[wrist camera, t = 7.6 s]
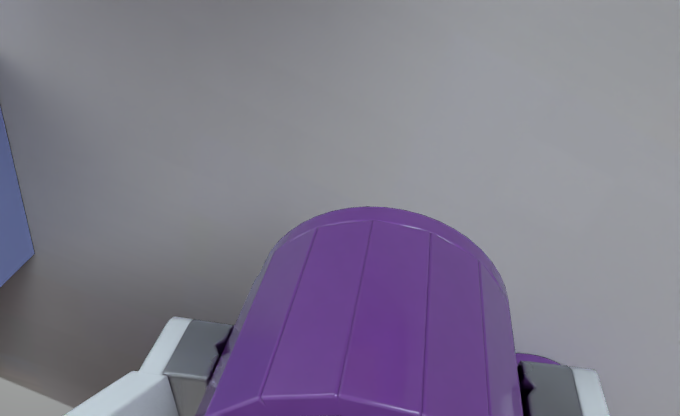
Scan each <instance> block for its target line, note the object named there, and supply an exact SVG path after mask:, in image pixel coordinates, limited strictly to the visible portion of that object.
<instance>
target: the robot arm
mask: <svg viewBox="0 0 680 416" xmlns="http://www.w3.org/2000/svg"><path fill="white" fill-rule="evenodd" d="M234 326H235V325H230V324H223V323H217V322H210V321H204V320H197V319H189V318H182V317H175V316H174V317H172V318H171V319H170V320H169V321H168V322H167V324H166V325H165V327H164V329H163V330H162V332H161V334H160V335H159V337H158V339H157V341H156V342H155V344H154V346H153V347H152V349H151V351H150V352H149V354H148V356H147V357H146V359H145V361H144V363H143V364H142V366H141V368H140V369H139V371H131V372H130V373H128V374H126V375H125V376H123V377H122V378H120V379H119V380H117V381H116V382H114V383H112V384H111V385H109V386H108V387H106V388H105V389H103V390H102V391H100V392H98V393H97V394H95V395H94V396H92V397H91V398H89V399H88V400H86V401H85V402H83V403H81V404H80V405H78V406H77V407H75V408H74V409H72V410H71V411H69V412H68V413H66V414H64V415H63V416H195V414H196V412H197V409H198V407H199V405H200V403H201V400H202V398H203V396H204V394H205V391H206V389H207V387H208V385H209V382H210V380H211V378H212V376H213V373H214V371H215V369H216V366H217V364H218V362H219V360H220V357H221V355H222V353H223V351H224V348H225V346H226V344H227V342H228V339H229V337H230V335H231V333H232V330H233V328H234ZM517 369H518V377H519V384H520V392H521V400H522V407H523V415H524V416H610V414H609V411H608V408H607V404H606V401H605V397H604V394H603V390H602V387H601V383H600V380H599V376H598V373H597V372H596V371H595V370H594V369H587V368H579V367H571V366H569V367H568V366H565V365H556V364H547V363H539V362H530V361H521V360H520V362H519V363H518V366H517Z"/></svg>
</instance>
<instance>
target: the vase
mask: <svg viewBox="0 0 680 416" xmlns="http://www.w3.org/2000/svg"><path fill="white" fill-rule="evenodd" d="M34 254H35V253H34V249H33V244H32V240H31V236H30V232H29V227H28V223H27V219H26V214H25V210H24V206H23V201H22V197H21V193H20V189H19V184H18V180H17V176H16V171H15V167H14V163H13V158H12V154H11V150H10V146H9V141H8V137H7V133H6V128H5V124H4V120H3V116H2V111H1V107H0V287H1V286H2V285H3V284H4V283H5V282H6V281H7V280H8V279H9V278H10V277H11V276H12V275H13V274H14V273H15V272H16V271H17V270H18V269H19V268H20V267H21V266H22V265H23V264H24V263H25V262H26V261H27V260H28V259H30V258H31V257H32V256H33V255H34Z"/></svg>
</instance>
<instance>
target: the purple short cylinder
mask: <svg viewBox="0 0 680 416" xmlns="http://www.w3.org/2000/svg"><path fill="white" fill-rule="evenodd" d="M195 416H524V415H523V407H522V400H521V392H520V384H519V377H518V369H517V361H516V353H515V346H514V338H513V330H512V323H511V316H510V308H509V300H508V296H507V291H506V287H505V285H504V283H503V280H502V278H501V275H500V274H499V272H498V270H497V269H496V267H495V266H494V264H493V263H492V261H491V260H490V259H489V258H488V257H487V256H486V254H485V253H484V252H483V251H482V250H481V249H480V248H479V247H478V246H477V245H476V244H474V243H473V242H472V241H471V240H470V239H469V238H467V237H466V236H464V235H463V234H461V233H460V232H458V231H457V230H455V229H454V228H452V227H450V226H448V225H446V224H444V223H442V222H440V221H438V220H435V219H433V218H430V217H427V216H425V215H422V214H418V213H414V212H410V211H407V210H402V209H395V208H388V207H369V206H366V207H353V208H345V209H340V210H335V211H331V212H328V213H324V214H321V215H318V216H316V217H313V218H311V219H309V220H307V221H305V222H303V223H301V224H300V225H298V226H297V227H295V228H294V229H292V230H291V231H289V232H288V233H287V234H286V235H285V236H284V237H282V238H281V239H280V240H279V241H278V242H277V244H276V245H275V246H274V247H273V249H272V250H271V251H270V253H269V255H268V257H267V259H266V261H265V263H264V265H263V267H262V269H261V272H260V273H259V275H258V276H257V278H256V279H255V281H254V283H253V285H252V287H251V290H250V292H249V294H248V296H247V299H246V301H245V303H244V305H243V308H242V310H241V312H240V314H239V317H238V319H237V321H236V324H235V326H234V328H233V330H232V333H231V335H230V337H229V339H228V342H227V344H226V346H225V348H224V351H223V353H222V355H221V357H220V360H219V362H218V364H217V366H216V369H215V371H214V373H213V376H212V378H211V380H210V382H209V385H208V387H207V389H206V391H205V394H204V396H203V398H202V400H201V403H200V405H199V407H198V409H197V412H196V414H195Z"/></svg>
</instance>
